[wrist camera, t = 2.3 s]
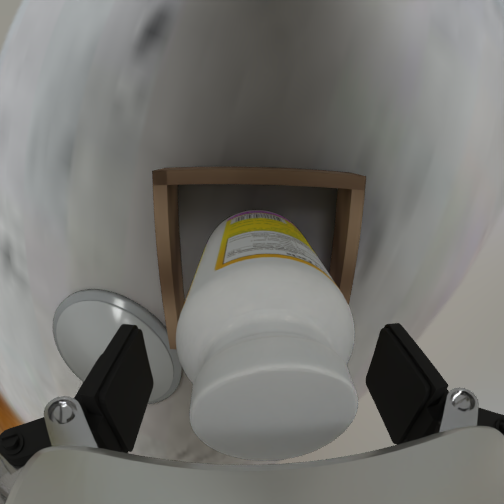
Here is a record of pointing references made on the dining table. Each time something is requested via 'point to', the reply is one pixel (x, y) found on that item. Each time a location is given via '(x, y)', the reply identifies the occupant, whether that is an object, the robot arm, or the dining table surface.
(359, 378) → the dining table surface
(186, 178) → the frame
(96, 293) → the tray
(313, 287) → the supplement bottle
